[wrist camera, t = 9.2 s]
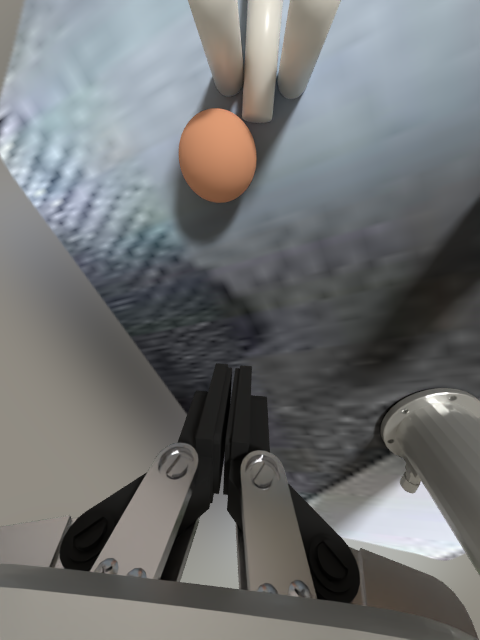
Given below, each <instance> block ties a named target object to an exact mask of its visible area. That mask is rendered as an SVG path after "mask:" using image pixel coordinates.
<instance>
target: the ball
mask: <svg viewBox="0 0 480 640" xmlns="http://www.w3.org/2000/svg"><path fill="white" fill-rule="evenodd" d="M256 160H257V157H256V147H255V143H254V140H253V137H252V134H251V133H250V131H249V129H248V127H247V126H246V125H245V123H244V122H243V121H242V120H241V119H240V118H239V117H238V116H236V115H235V114H233V113H232V112H230V111H227V110H224V109H219V108H211V109H207V110H204V111H202V112H200V113H198V114H197V115H195V116H194V117H193V118H192V119H191V120H190V121H189V122H188V124H187V125H186V127H185V128H184V131H183V133H182V135H181V139H180V144H179V163H180V167H181V171H182V174H183V176H184V178H185V180H186V182H187V184H188V185H189V186H190V188H191V189H192V190H193V191H194V192H195V193H196V194H197V195H199V196H200V197H202V198H203V199H205V200H208V201H211V202H215V203H224V202H229V201H231V200H234V199H236V198H237V197H239V196H240V195H241V194H242V193H243V192H244V191H245V190H246V189H247V188H248V186H249V185H250V183H251V181H252V179H253V176H254V173H255V169H256Z"/></svg>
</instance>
